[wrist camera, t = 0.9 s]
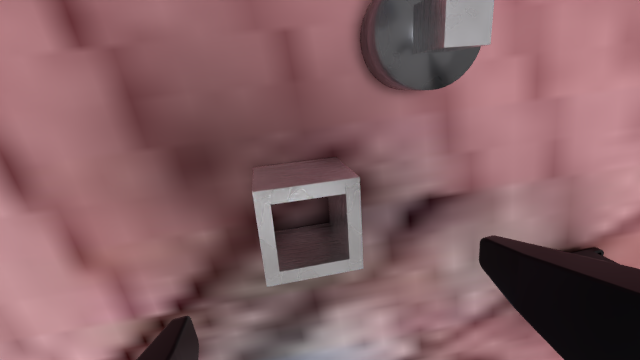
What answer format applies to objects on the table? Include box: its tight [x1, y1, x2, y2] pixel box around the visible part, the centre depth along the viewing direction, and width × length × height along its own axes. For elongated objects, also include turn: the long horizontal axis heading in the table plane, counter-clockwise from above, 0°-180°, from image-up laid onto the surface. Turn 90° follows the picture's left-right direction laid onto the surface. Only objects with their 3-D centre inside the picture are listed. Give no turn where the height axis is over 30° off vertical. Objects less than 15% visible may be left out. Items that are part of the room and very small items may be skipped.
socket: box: [252, 157, 363, 287], centre depth 19 cm, size 6×6×5 cm
